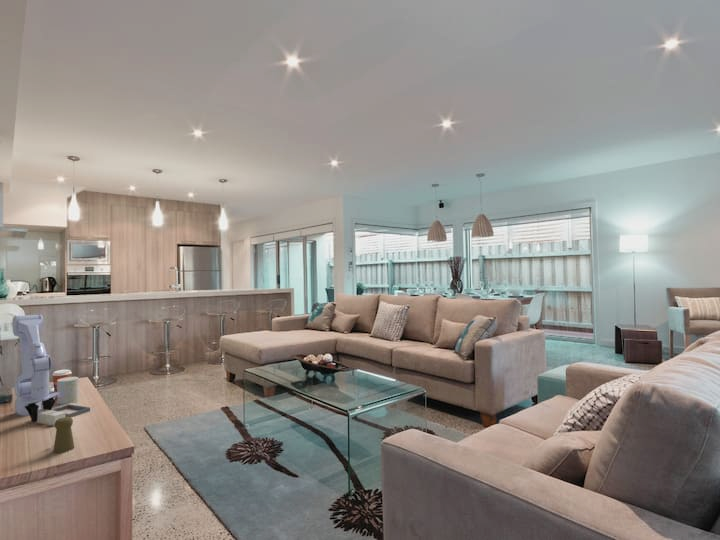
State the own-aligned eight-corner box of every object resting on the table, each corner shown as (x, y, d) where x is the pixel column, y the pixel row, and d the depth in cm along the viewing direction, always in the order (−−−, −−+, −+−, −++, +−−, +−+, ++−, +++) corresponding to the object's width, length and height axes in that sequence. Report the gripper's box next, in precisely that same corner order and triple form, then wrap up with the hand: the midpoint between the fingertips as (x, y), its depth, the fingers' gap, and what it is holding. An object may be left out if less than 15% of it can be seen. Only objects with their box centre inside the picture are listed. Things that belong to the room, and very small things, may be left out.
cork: (60, 445, 143) (60, 415, 143) (78, 445, 144) (78, 414, 144) (48, 453, 137) (48, 421, 137) (67, 452, 138) (67, 421, 138)
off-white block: (48, 424, 159) (48, 414, 159) (58, 421, 163) (58, 411, 163) (55, 425, 158) (55, 415, 158) (65, 422, 162) (65, 412, 162)
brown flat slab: (23, 425, 162) (23, 422, 162) (42, 419, 169) (42, 416, 169) (51, 431, 157) (51, 427, 157) (69, 424, 163) (69, 421, 163)
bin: (47, 418, 171) (47, 411, 171) (69, 410, 179) (69, 404, 179) (68, 421, 166) (68, 414, 166) (90, 414, 175) (90, 407, 175)
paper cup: (50, 402, 191) (50, 373, 191) (54, 398, 197) (54, 370, 197) (70, 400, 194) (70, 371, 194) (73, 396, 201) (73, 368, 201)
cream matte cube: (31, 421, 163) (31, 411, 163) (42, 418, 167) (42, 408, 167) (38, 422, 161) (38, 412, 161) (48, 419, 165) (48, 409, 165)
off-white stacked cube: (39, 423, 161) (39, 413, 161) (50, 419, 165) (50, 410, 165) (46, 424, 160) (46, 414, 160) (57, 420, 164) (57, 411, 164)
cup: (67, 407, 184) (67, 381, 184) (52, 406, 185) (52, 380, 185) (82, 402, 192) (82, 377, 192) (68, 401, 193) (68, 376, 193)
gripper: (26, 392, 156) (26, 427, 156) (65, 382, 170) (65, 414, 169) (15, 390, 158) (15, 424, 158) (53, 381, 172) (53, 412, 172)
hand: (40, 419), depth 164 cm, fingers closed on cream matte cube, 4 cm apart
